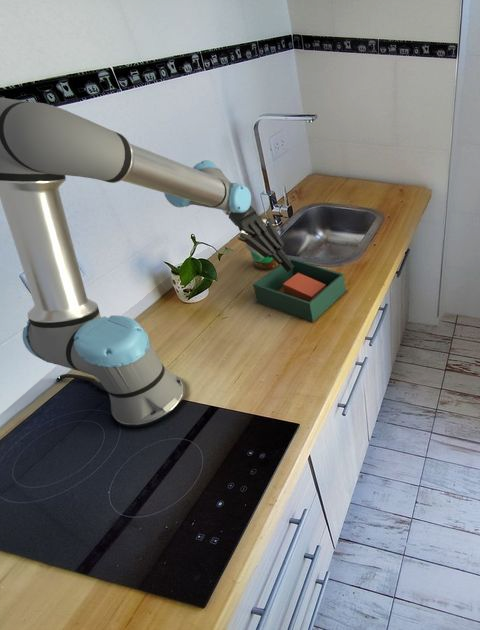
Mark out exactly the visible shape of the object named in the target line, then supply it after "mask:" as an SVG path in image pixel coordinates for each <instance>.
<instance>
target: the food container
mask: <svg viewBox="0 0 480 630" xmlns="http://www.w3.org/2000/svg"><path fill="white" fill-rule="evenodd" d="M245 246H246V250H248V251H249V252H250V255H251V258H252V260H253V262H254V265H255V268H257V269H258V270H261V271H272V270H274V269H275V268H277V267H278V266H280V265H281V264H278V263H277V262H276V261H275V260H274V259H273V258H272V257H271V258H269V257H267V258H265V257H263V256H262V255H261V254H259V253H258V252H257V251H256V250H254V249H253V248H252V247H250V246H249V245H248V244H247V243H245Z"/></svg>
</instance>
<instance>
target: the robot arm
mask: <svg viewBox="0 0 480 630" xmlns="http://www.w3.org/2000/svg"><path fill="white" fill-rule="evenodd" d="M66 176H67V177H68V176H70V177H79V178H87V179H92V180H97V181H98V180H99V181H102V182H106V183H109V184H110V183H111V184H115V183H120V182H125V183H128V184H131V185H135V186H139V187H142V188H146V189H149V190H153V191H156V192H159V193H163V195H164V197H165V199H166V200H167V202H168V203H169V204H171V205H172V206H173V207H176V208H187V207H189V206H198V207H204V208H210V209H216V210H221V211H222V212H223V213H224V214H225V216H228V219H229V220H230V221H231V222H232V223H233V225H234V226H236V227H238V229H239V235H238V236H237V240H239V241H241V242H243V243H245V244H246V243H247V244H248V245H249V246H250V247H252V248H253V249H254V250H256V251H257V252H258V253H259V254H261V255H262V256H263V257H265V258H267V257H269V258H271V257H272V258H273V259H274V260H275V261H276V262H277V263H278V264H280V265H282V266H283V268H284V269H285V270H286V271H287V272H289V271H290V270H291V269H292V268H293V267H294V265H293V264H292V263H291V262H290V261H289V260H288V259H289V256H288V255H287V254H286V253H285V251H284V250H283V247H284V246H285V243H284V242H283V239H282V238H281V236H280V235H279V233H278V231H277V230H276V227H275V226H274V224H273V220H272V218H270V217H267V218H263V217H262V216H260V215H259V214H257V211H256V209H255V208H254V207H253V206H252V194H251V191H250V189H249V188H248V187H247V186H246V185H244V184H241V183H237V182H231V181H230V180H229V178H228V177H227V176H226V175H225V174H224V173H223V171H222V170H221V168H219V167H218V166H217V165H216V164H215V163H214V162H213V161H211V160H202V161H200V162H198V163H196V164H195V165H194V166H193V167H191V166H188V165H187V164H184V163H182V162H178V161H176V160H173V159H171V158H168V157H165V156H164V155H161V154H158V153H156V152H153V151H150V150H148V149H145V148H143V147H140V146H138V145H135V144H132V143H131V142H130V141H129V140H128V138H127V137H125V135H123V134H122V133H119V132H117V131H115V130H112V129H109V128H107V127H105V126H102V125H100V124H99V123H96V122H94V121H92V120H89V119H87V118H84V117H83V116H80V115H79V114H75V113H73V112H71V111H68V110H67V109H63V108H60V107H58V106H54V105H51V104H48V103H44V102H37V101H27V100H22V99H21V100H20V99H14V98H13V99H12V98H6V97H1V96H0V203H1V206H2V209H3V212H4V215H5V218H6V221H7V224H8V227H9V231H10V233H11V237H12V241H13V242H14V246H15V249H16V252H17V255H18V258H19V261H20V265H21V267H22V271H23V273H24V276H25V280H26V284H27V287H28V289H29V292H30V293H29V294H30V296H31V298H32V301H33V306H32V308H31V309H30V310H29V311H28V312H27V319H28V320H27V321H26V326H24V327H23V328H22V342H23V344H24V347H25V348H26V350H27V351H28V352H29V353H30V354H32V355H33V356H34V357H36V358H38V359H40V360H42V361H44V362H46V363H48V364H53V365H56V366H61V367H63V368H68V369H69V370H74V371H78V372H81V373H83V374H87V375H90V376H86V375H81V374H74V373H73V374H72V373H65V374H64V373H63V374H61V375H59V376H60V379H59V378H58V377H59V376H57V377H56V379H55V380H56V382H59V381H60V382H61V381H62V380H63V379H77V380H83V381H85V382H86V381H87V382H90V383H92V384H93V385H94V386H95V387H97V388H99V389H100V390H102V391H104V392H107V394H108V396H109V400H110V412H111V415H112V417H113V418H114V420H115V421H116V422H117V423H118V424H119V425H120V426H122V427H125V428H128V429H129V428H131V429H139V428H145V427H149V426H152V425H155V424H157V423H160V422H161V421H163V420H165V419H167V418H168V417H170V416H171V415H172V414H173V413H175V412H176V411H177V410H178V409H179V407H181V405H182V403H183V402H184V400H185V398H186V394H187V390H186V386H185V384H184V382H183V380H182V379H181V378H180V377H179V376H178V375H176V374H175V373H174V372H172V371H170V369H168V368H166V367H165V365H164V364H163V361H162V360H161V358H160V357H159V355H158V353H157V351H156V349H155V347H154V346H153V344H152V342H151V341H150V338H149V335H148V333H147V332H146V330H145V329H144V328H143V327H142V326H141V324H140V322H138V321H136V320H135V319H133V318H131V317H129V316H124V315H117V314H115V315H110V316H108V317H107V316H101V313H100V309H99V305H98V303H97V302H96V301H94V300H92V299H90V298H88V296H87V292H86V288H85V285H84V282H83V278H82V274H81V269H80V266H79V262H78V257H77V255H76V251H75V247H74V243H73V239H72V236H71V231H70V228H69V224H68V220H67V216H66V213H65V209H64V205H63V202H62V197H61V194H60V186H61V185H63V183H64V182H66V181H67V177H66ZM91 376H93V377H94V378H93V377H91Z"/></svg>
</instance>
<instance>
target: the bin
mask: <svg viewBox="0 0 480 630" xmlns="http://www.w3.org/2000/svg"><path fill="white" fill-rule="evenodd" d="M287 259H288V260H289V261H290V262H291V263H292V264H293V265H294V267H293V268H292V269H291V270H290V271H289V272H287V271H286V270H285V269H284V268H283V266H282V265H281V264H280V266H278V267H277V268H275V269H271V270H270V272H268V273H267V274H265V275H264V276H263V277H260V278H259V279H258V280H257V281H255V282H254V283H253V284H252V288H253V290H254V294H255V297H256V301H257V303H260V304H262V305H265V306H268V307H271V308H273V309H276V310H279V311H281V312H283V313H284V312H285V313H287V314H289V315H292V316H295V317H299V318H301V319H304V320H306V321H310V322H312V323H314V322H315V321H316V320H317V319H318V318H319V317H320V316H322V314H324V312H326V311H327V310H328V309H329V308H330V307H331V306H332V305H333V304H334V303H335V302H336V301H337V300H338V299H340V298H341V296H343V295H344V294H345V293H346V292H347V289H346V282H345V274H344V273H341V272H337V271H334V270H331V269H328V268H325V267H321V266H318V265H315V264H312V263H308V262H306V261H302V260H298V259H295V258H291V257H290V258H287ZM297 273H300V274H303V275H305V276H307V277H309V278H312V279H314V280H316V281H319V282H321V283H323V284H325V285H326V288H325V289H324V290H323V291H321V292H320V293H319V294H318V295H317V296H316V297H314V298H313V299H312V300H311V301H310V302H308V301H305V300H302V299H299V298H296V297H293V296H290V295H287V294H284V292H281V291H278V289H280V288H281V287H283V284H284V283H285V282H286V281H288V280H289V279H290V278H292V277H293V276H294V275H296V274H297Z"/></svg>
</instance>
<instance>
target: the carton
mask: <svg viewBox="0 0 480 630" xmlns="http://www.w3.org/2000/svg"><path fill="white" fill-rule="evenodd" d="M282 287H283V293H284V294H287V295H290V296H293V297H296V298H299V299H302V300H305V301H308V302H310V301H311V300H312V299H313V298H314V297H316V296H317V295H318V294H319V293H320V292H321V291H323V290H324V289H325V288H326V285H325V284H323V283H321V282H319V281H316V280H314V279H312V278H309V277H307V276H305V275H303V274H300V273H297V274H296V275H294V276H293V277H292V278H290V279H289V280H288V281H286V282H285V283H284V284H283V285H282Z"/></svg>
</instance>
